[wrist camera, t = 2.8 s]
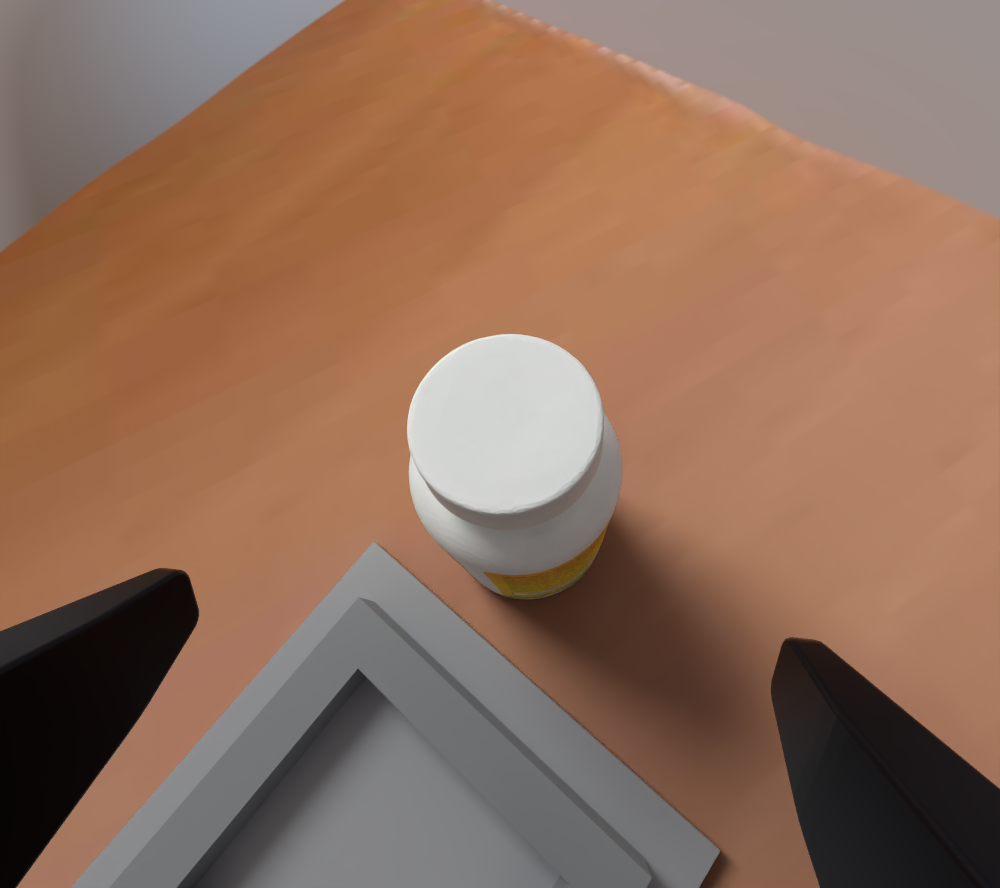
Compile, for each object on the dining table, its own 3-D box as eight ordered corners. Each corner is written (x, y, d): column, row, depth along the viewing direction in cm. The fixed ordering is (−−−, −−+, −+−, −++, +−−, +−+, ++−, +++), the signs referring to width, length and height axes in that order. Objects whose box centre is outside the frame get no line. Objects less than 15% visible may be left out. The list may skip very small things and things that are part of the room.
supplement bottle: (431, 558, 19) (318, 475, 10) (498, 437, 21) (450, 273, 12) (564, 630, 18) (566, 604, 9) (626, 494, 19) (680, 356, 10)
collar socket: (384, 1406, 12) (349, 1551, 10) (74, 894, 16) (9, 926, 14) (714, 843, 15) (737, 870, 13) (379, 544, 20) (359, 532, 18)
